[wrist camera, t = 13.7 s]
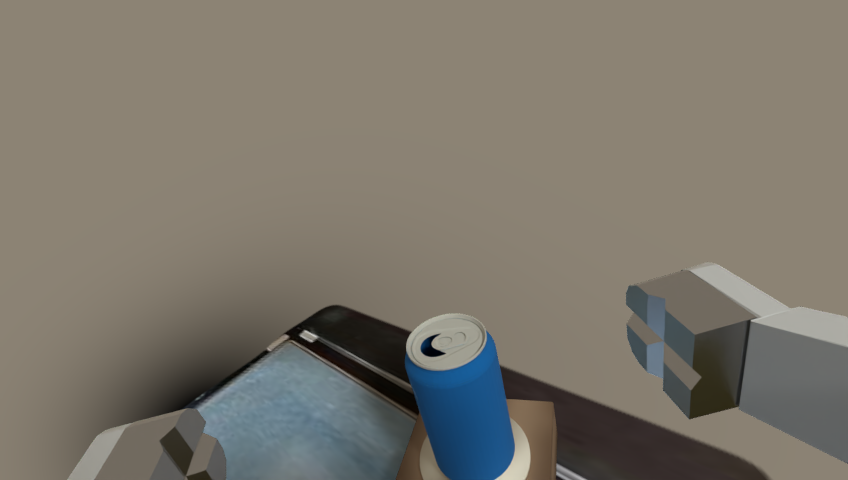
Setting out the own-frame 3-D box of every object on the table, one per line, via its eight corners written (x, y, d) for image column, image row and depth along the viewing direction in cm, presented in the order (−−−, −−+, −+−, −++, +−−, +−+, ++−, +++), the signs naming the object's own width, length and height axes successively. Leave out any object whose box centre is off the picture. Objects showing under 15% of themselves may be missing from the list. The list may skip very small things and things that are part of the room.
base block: (395, 548, 34) (380, 515, 32) (434, 421, 44) (425, 390, 42) (553, 582, 30) (546, 545, 28) (557, 432, 39) (552, 399, 38)
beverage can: (431, 431, 37) (396, 323, 32) (502, 411, 38) (478, 300, 32) (444, 503, 32) (405, 385, 26) (528, 478, 32) (505, 356, 27)
